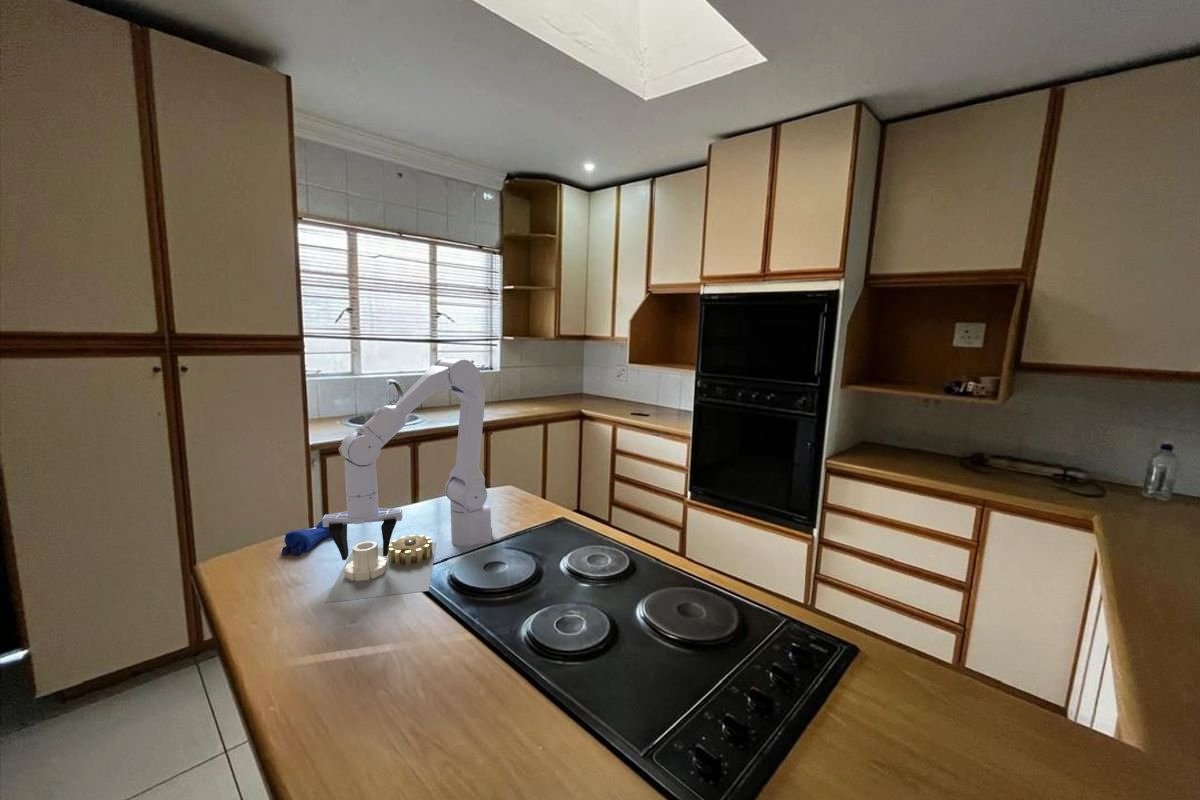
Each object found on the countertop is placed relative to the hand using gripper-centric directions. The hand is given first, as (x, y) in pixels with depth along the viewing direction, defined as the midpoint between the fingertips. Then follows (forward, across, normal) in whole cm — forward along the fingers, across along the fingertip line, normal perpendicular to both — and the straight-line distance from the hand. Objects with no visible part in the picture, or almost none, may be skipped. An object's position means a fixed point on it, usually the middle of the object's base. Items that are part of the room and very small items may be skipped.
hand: (365, 555), depth 99 cm
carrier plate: (+4, +4, 0) cm, 6 cm away
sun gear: (+3, +8, +5) cm, 10 cm away
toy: (+5, -14, +18) cm, 24 cm away
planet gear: (+3, 0, 0) cm, 3 cm away
